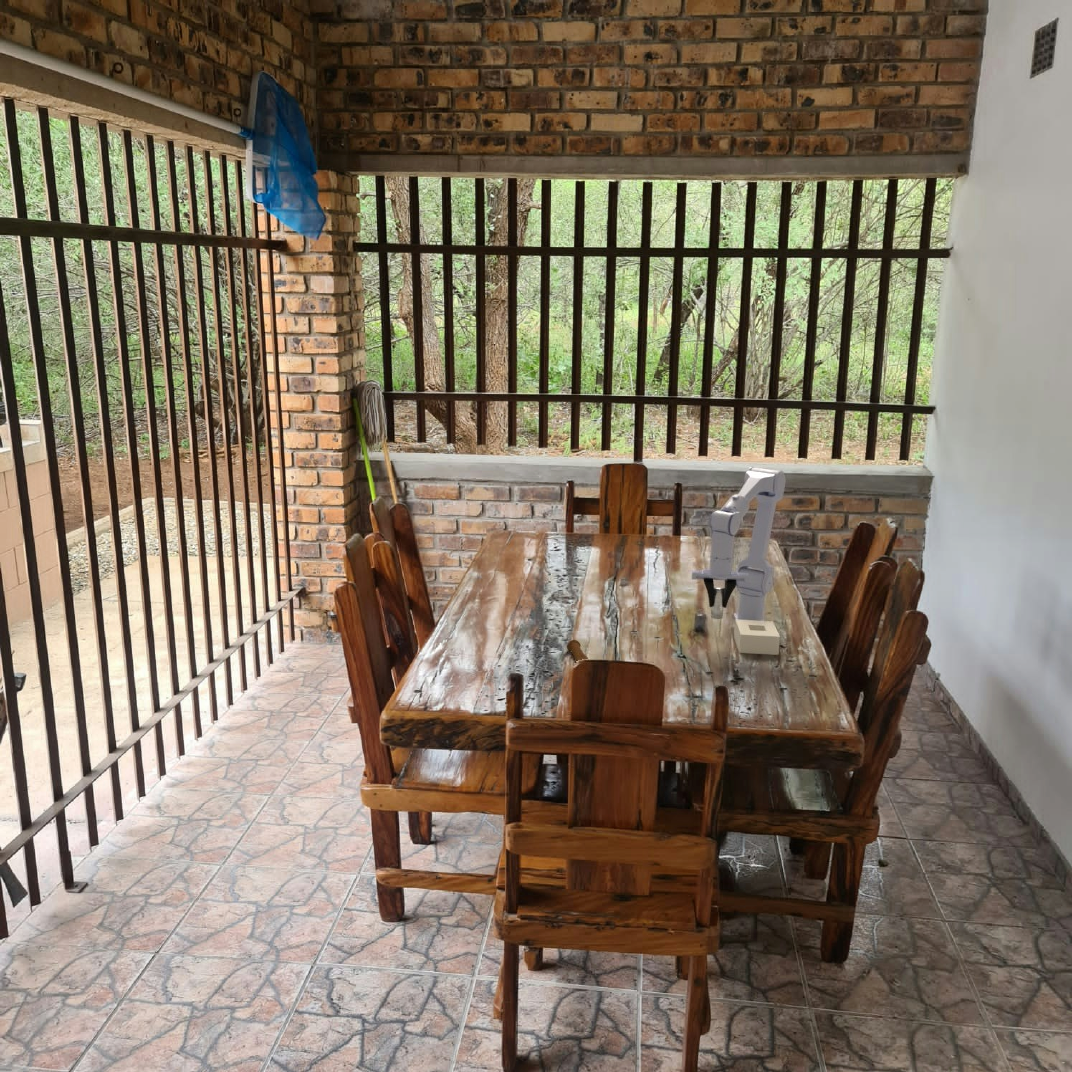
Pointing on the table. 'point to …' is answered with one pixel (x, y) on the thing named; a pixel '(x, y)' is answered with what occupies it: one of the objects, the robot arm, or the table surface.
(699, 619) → the short pin
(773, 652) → the hole block
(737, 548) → the table surface
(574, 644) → the primitive tool
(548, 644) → the table surface
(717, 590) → the long pin
